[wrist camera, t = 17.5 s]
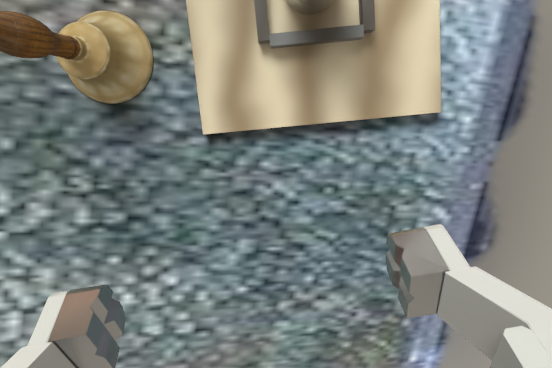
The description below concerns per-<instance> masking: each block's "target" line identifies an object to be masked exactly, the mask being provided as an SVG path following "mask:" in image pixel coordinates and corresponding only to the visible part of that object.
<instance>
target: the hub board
mask: <svg viewBox="0 0 552 368" xmlns="http://www.w3.org/2000/svg"><path fill="white" fill-rule="evenodd" d="M186 4H187V12H188V20H189V28H190V35H191V43H192V51H193V59H194V67H195V75H196V82H197V90H198V98H199V106H200V114H201V122H202V130H203V134H214V133H225V132H235V131H246V130H257V129H267V128H278V127H289V126H299V125H310V124H321V123H331V122H342V121H353V120H363V119H374V118H385V117H395V116H406V115H417V114H427V113H438V112H441V69H440V0H334V1H333V3H332V4H331V5H330V6H329V7H328V8H327V9H325V10H324V11H322V12H319V13H317V14H303V13H300V12H297V11H296V10H294V9H293V8H291V7H290V6H289V4H288V3H287V2H286V0H186Z"/></svg>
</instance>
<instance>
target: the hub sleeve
mask: <svg viewBox="0 0 552 368" xmlns="http://www.w3.org/2000/svg"><path fill="white" fill-rule="evenodd" d="M333 1H334V0H286V2H287V3H288V4H289V6H290V7H291V8H293V9H294V10H296V11H297V12H300V13H303V14H317V13H319V12H322V11H324V10H325V9H327V8H328V7H329V6H330V5H331V4H332V3H333Z"/></svg>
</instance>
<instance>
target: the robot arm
mask: <svg viewBox="0 0 552 368" xmlns="http://www.w3.org/2000/svg"><path fill="white" fill-rule="evenodd" d="M387 245H388V248H389V251H388V252H387V253H386V265H387V271H388V274H389V277H390V280H391V282H392V285H393V286H395V287H396V288H398V289H399V293H398V299H399V301H400V304H401V306H402V308H403V310H404V313H405V315H406V317H407V318H411V317H418V316H424V315H431V314H437V316H439V317H440V318H441V319H442V320H443V321H445V322H446V323H447V324H448V325H449V326H451V327H452V328H453V329H454V330H456V331H457V332H458V333H459V334H460V335H462V336H463V337H464V338H465V339H466V340H468V341H469V342H470V343H471V344H473V345H474V346H475V347H476V348H477V349H479V350H480V351H481V352H482V353H483V354H485V355H486V356H487V357H488V358H490V359H491V360H492V364H491V366H490V368H552V309H551V308H549V307H547V306H545V305H544V304H542V303H540V302H538V301H536V300H535V299H533V298H531V297H529V296H527V295H526V294H524V293H522V292H520V291H519V290H517V289H515V288H513V287H511V286H510V285H508V284H506V283H504V282H503V281H501V280H499V279H497V278H495V277H494V276H492V275H490V274H488V273H486V272H485V271H483V270H481V269H479V268H478V267H470V266H469V264H468V263H467V261H466V260H465V258H464V257H463V255H462V254H461V252H460V250H459V249H458V247H457V246H456V244H455V243H454V241H453V240H452V238H451V237H450V235H449V234H448V232H447V231H446V229H445V228H444V226H442V225H441V224H439V225H433V226H428V227H423V228H416V229H411V230H406V231H400V232H395V233H390V234H388V236H387ZM112 293H113V291H112V290H111V289H110V287H109V286H108V285H101V286H94V287H88V288H81V289H74V290H69V291H63V292H57V293H53V294H52V295H51V296H50V297H48V299H47V302H46V304H45V306H44V309H43V311H42V313H41V315H40V318H39V320H38V322H37V325H36V327H35V329H34V332H33V334H32V336H31V339H30V341H29V343H28V346H26V347H22V348H21V349H20V350H19V351H18V352H17V353H16V354H14V355H13V356H12V357H11V358H10V359H9V360H8V361H7V362H6V363H5V364H4V365H3V366H2V367H1V368H115V365H116V361H117V357H118V352H119V348H120V347H119V346H118V344H117V342H116V341H117V339H118V338H119V337H120V336H121V335H122V334H123V330H124V325H125V316H124V311H123V307H122V305H121V304H120V302H119V301H117V300H115V299H113V298H111V297H112Z"/></svg>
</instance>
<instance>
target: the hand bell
mask: <svg viewBox="0 0 552 368" xmlns="http://www.w3.org/2000/svg"><path fill="white" fill-rule="evenodd" d="M0 51H1V52H4V53H6V54H9V55H12V56H16V57H21V58H41V57H45V56H48V55H54V56H56V57H57V60H58V62H59V64H60V65H61V67H62V68H63V69H64V70H65V71H66V72H67V73H68V75H69V77H70V79H71V81H72V82H73V84H74V85H75V86H76V87H77V88H78V89H79V90H80V91H81V92H82V93H83V94H85V95H86V96H88V97H89V98H91V99H93V100H96V101H98V102H103V103H109V104H115V103H122V102H125V101H128V100H130V99H132V98H134V97H135V96H137V95H138V94H139V93H140V92H141V91H142V90H143V89H144V88H145V86H146V85H147V83H148V81H149V79H150V76H151V73H152V68H153V53H152V48H151V45H150V42H149V40H148V38H147V36H146V34H145V33H144V31H143V30H142V29H141V28H140V26H139V25H138V24H137V23H136V22H134V21H133V20H132V19H130V18H129V17H127V16H125V15H123V14H121V13H118V12H114V11H107V10H103V11H95V12H92V13H89V14H86V15H85V16H83V17H81V18H80V19H79V20H77V21H76V22H74V23H71V24H68V25H67V26H65V27H64V28H63V29H62V30H61V31H60V32H59V34H57V33H54V32H52V31H51V30H50V29H49V28H48V27H47V26H45V25H44V24H43V23H41V22H40V21H38V20H36V19H34V18H32V17H30V16H27V15H24V14H21V13H17V12H9V11H0Z"/></svg>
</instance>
